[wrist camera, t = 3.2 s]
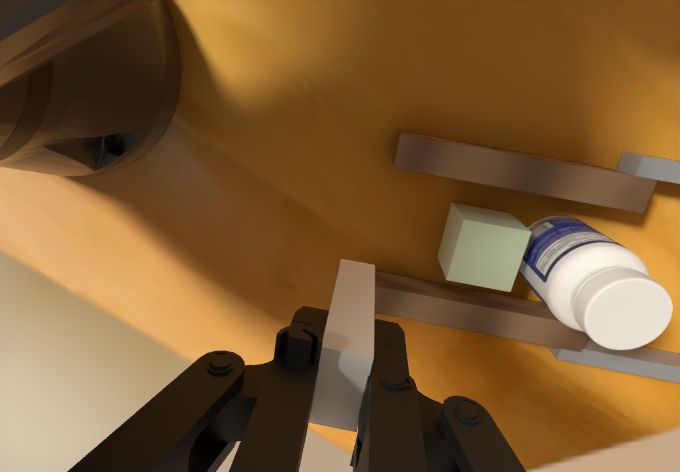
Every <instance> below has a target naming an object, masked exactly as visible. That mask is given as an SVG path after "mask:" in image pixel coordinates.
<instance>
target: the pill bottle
mask: <svg viewBox="0 0 680 472" xmlns="http://www.w3.org/2000/svg"><path fill="white" fill-rule="evenodd" d="M527 228H528V229H529V230H530V231H531V235H530V238H529V241H528V244H527V247H526V249H525V252H524V255H523V258H522V261H521V264H520V266H519V269H518V272H519V273H520V275H521V276H522V278H523V279H524V280H525V281H526V282H527V284H528V285H529V286H530V287H531V288H532V290H533V291H534V292H535V293H536V295H537V296H538V297H539V298H540V299H541V300H542V302H543V303H544V304H545V305H546V307H547V308H548V309H549V310H550V311H551V313H552V314H553V315H554V316H555V317H556V318H557V319H558V320H559V321H561V322H562V323H563V324H565V325H566V326H568V327H570V328H573V329H575V330H579V331H583V332H585V333H586V334H587V335H588V336H589V337H590V338H591V339H592V340H593V341H595V342H596V343H597V344H599V345H601V346H603V347H606V348H609V349H614V350H629V349H634V348H638V347H641V346H643V345H646V344H648V343H649V342H651V341H653V340H654V339H656V338H657V337H658V336H659V335H660V334H661V333H662V332H663V331H664V330H665V328H666V327H667V326H668V324H669V322H670V319H671V316H672V311H673V305H672V301H671V298H670V296H669V294H668V292H667V291H666V290H665V289H664V288H663V287H662V286H661V285H660V284H658V283H657V282H656V281H654V280H653V279H651V278H650V275H649V272H648V269H647V267H646V265H645V264H644V262H643V261H642V260H641V259H640V258H639V257H638V256H637V255H636V254H634V253H633V252H632V251H630V250H629V249H627V248H626V247H624V246H622V245H620V244H619V243H617V242H615V241H613V240H612V239H610V238H609V237H607V236H605V235H603V234H601V233H600V232H598V231H596V230H595V229H593V228H591V227H590V226H588V225H586V224H585V223H583V222H581V221H579V220H577V219H575V218H572V217H569V216H560V215H557V216H549V217H545V218H542V219H540V220H538V221H536V222H534V223H533V224H531V225H530V226H529V227H527Z"/></svg>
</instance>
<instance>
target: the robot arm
mask: <svg viewBox="0 0 680 472" xmlns="http://www.w3.org/2000/svg"><path fill="white" fill-rule="evenodd" d="M180 76H181V69H180V54H179V47H178V42H177V37H176V33H175V29H174V26H173V23H172V20H171V17H170V14H169V12H168V10H167V7H166V5H165V3H164V1H163V0H0V167H6V168H13V169H19V170H25V171H32V172H38V173H44V174H51V175H58V176H84V175H92V174H96V173H100V172H104V171H108V170H111V169H115V168H119V167H121V166H124V165H127V164H129V163H131V162H133V161H135V160H136V159H138V158H140V157H141V156H143V155H144V154H145V153H146V152H148V151H149V150H150V149H151V148H152V147H153V146H154V145H155V144H156V143H157V141H158V140H159V139H160V138H161V136H162V135H163V133H164V132H165V130H166V128H167V127H168V125H169V123H170V120H171V118H172V116H173V113H174V110H175V107H176V104H177V99H178V95H179V88H180ZM374 308H375V265H373V264H368V263H362V262H357V261H352V260H347V259H341V261H340V266H339V270H338V275H337V279H336V284H335V288H334V292H333V297H332V301H331V306H330V310H329V311H327V310H322V309H316V308H311V307H306V306H303V307H302V308H300V309H299V310H298V311H296V312H295V315H294V317H293V320H292V322H291V325H290V326H288V327H285V328H283V329H281V330H280V331H279V332H278V333H277V337H276V345H275V352H274V359H273V360H272V361H270V362H268V363H264V364H259V365H245V363H244V360H243V359H242V358H241V356H239V355H237V354H236V353H234V352H229V351H213V352H210V353H207V354H205V355H203V356H202V357H200V358H199V359H198V360H196V361H195V362H194V363H193V364H192V365H191V366H189V367H188V368H187V369H186V370H185V371H184V372H182V373H181V374H180V375H179V376H178V377H177V378H176V379H174V380H173V381H172V382H171V383H170V384H169V385H167V386H166V387H165V388H164V389H163V390H162V391H160V392H159V393H158V394H157V395H156V396H155V397H153V398H152V399H151V400H150V401H149V402H148V403H146V404H145V405H144V406H143V407H142V408H141V409H139V410H138V411H137V412H136V413H135V414H134V415H133V416H131V417H130V418H129V419H128V420H127V421H126V422H124V423H123V424H122V425H121V426H120V427H119V428H118V429H116V430H115V431H114V432H113V433H112V434H110V435H109V436H108V437H107V438H106V439H105V440H103V442H101V443H100V444H99V445H98V446H97V447H95V448H94V449H93V450H92V451H91V452H90V453H88V454H87V455H86V456H85V457H84V458H83V459H81V460H80V461H79V462H78V463H77V464H76V465H74V466H73V467H72V468H71V469H70V470H69V471H68V472H216V471H217V469H218V468H219V467H220V465H221V464H222V463H223V461H224V460H225V459H226V457H227V456H228V455H229V453H230V452H231V451H232V449H233V448H234V446H235V444H236V442H237V441H241V442H240V445H239V447H238V450H237V453H236V455H235V457H234V460H233V462H232V465H231V467H230V470H229V472H299V467H300V462H301V458H302V453H303V448H304V443H305V438H306V433H307V428H308V422H310V423H314V424H319V425H324V426H329V427H334V428H339V429H344V430H349V431H354V432H356V431H357V427H358V434H357V438H356V442H355V447H354V451H353V455H352V459H351V464H350V466H353V472H526V471H525V469H524V467H523V466H522V464H521V463H520V461H519V460H518V458H517V456H516V455H515V453H514V452H513V450H512V449H511V447H510V445H509V444H508V442H507V441H506V439H505V438H504V436H503V435H502V433H501V431H500V430H499V428H498V427H497V425H496V424H495V422H494V420H493V419H492V417H491V416H490V414H489V413H488V412H487V411H486V410H485V408H484V407H483V406H481V405H480V404H478V403H477V402H476V401H474V400H471V399H469V398H467V397H462V396H451V397H448V398H447V399H446V400H444V403H443V404H441V403H439V402H437V401H434V400H432V399H430V398H428V397H426V396H424V395H423V394H422V393H420V392H419V391H418V390H417V387H416V384H415V382H414V380H413V379H412V378H411V377H410V375H409V370H408V361H407V353H406V344H405V335H404V331H403V330H402V329H401V327H400V326H399V324H398V323H393V322H388V321H383V320H378V319H374Z"/></svg>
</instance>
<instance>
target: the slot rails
mask: <svg viewBox="0 0 680 472" xmlns="http://www.w3.org/2000/svg"><path fill="white" fill-rule="evenodd" d="M393 165H394V168H398V169H403V170H409V171H414V172H419V173H425V174H430V175H436V176H441V177H447V178H452V179H458V180H463V181H469V182H474V183H480V184H485V185H491V186H496V187H501V188H507V189H512V190H518V191H523V192H529V193H534V194H540V195H545V196H551V197H556V198H562V199H567V200H573V201H578V202H583V203H589V204H594V205H600V206H605V207H611V208H616V209H622V210H627V211H633V212H638V213H643V212H644V210H645V208H646V206H647V203H648V201H649V199H650V197H651V195H652V192H653V190H654V188H655V186H656V183H657V180H654V179H649V178H644V177H638V176H634V175H630V174H627V173H624V172H621V171H617V170H613V169H607V168H602V167H596V166H591V165H585V164H580V163H574V162H569V161H563V160H558V159H552V158H547V157H541V156H536V155H530V154H524V153H519V152H513V151H508V150H502V149H497V148H491V147H486V146H480V145H475V144H469V143H464V142H458V141H452V140H447V139H441V138H436V137H430V136H425V135H419V134H414V133H408V132H403V131H399V134H398V139H397V144H396V148H395V153H394V158H393ZM374 313H379V314H384V315H389V316H394V317H399V318H405V319H410V320H415V321H420V322H425V323H431V324H436V325H441V326H446V327H452V328H457V329H462V330H467V331H472V332H478V333H483V334H488V335H493V336H498V337H504V338H509V339H514V340H519V341H524V342H530V343H535V344H540V345H545V346H551V347H556V348H561V349H566V350H571V351H577V352H581V350H582V348H583V346H584V343H585V341H586V339H587V337H588V335H587V334H586V333H585V332H583V331H579V330H575V329H573V328H570V327H568V326H566V325H565V324H563V323H562V322H561V321H559V320H558V319H557V318H556V317H555V316H554V315H553V314H552V313H551V311H550V310H549V309H548V308H547V307H546V305H545V304H544V303H543V302H537V301H532V300H527V299H522V298H516V297H511V296H506V295H500V294H495V293H490V292H485V291H479V290H474V289H469V288H463V287H458V286H453V285H448V284H442V283H437V282H432V281H427V280H421V279H416V278H411V277H405V276H400V275H395V274H390V273H384V272H379V271H375V308H374Z"/></svg>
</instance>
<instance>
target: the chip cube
mask: <svg viewBox="0 0 680 472" xmlns="http://www.w3.org/2000/svg"><path fill="white" fill-rule="evenodd" d="M530 235H531V231H530V230H529V229H528V228H527V227H526V226H524V225H523V224H522V223H521V222H520V221H519V220H517V219H516V218H515V217H514V216H513V215H512V214H511V213H506V212H501V211H495V210H490V209H484V208H479V207H473V206H468V205H462V204H457V203H452V204H451V207H450V211H449V215H448V218H447V222H446V226H445V229H444V233H443V237H442V240H441V244H440V248H439V251H438V255H437V257H438V259H439V262H440V265H441V267H442V270H443V273H444V275H445V278H446V280H449V281H454V282H460V283H465V284H470V285H475V286H481V287H486V288H491V289H497V290H502V291H507V292H511V289H512V286H513V283H514V280H515V278H516V275H517V272H518V269H519V266H520V264H521V261H522V258H523V255H524V252H525V249H526V247H527V244H528V241H529V238H530Z"/></svg>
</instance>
